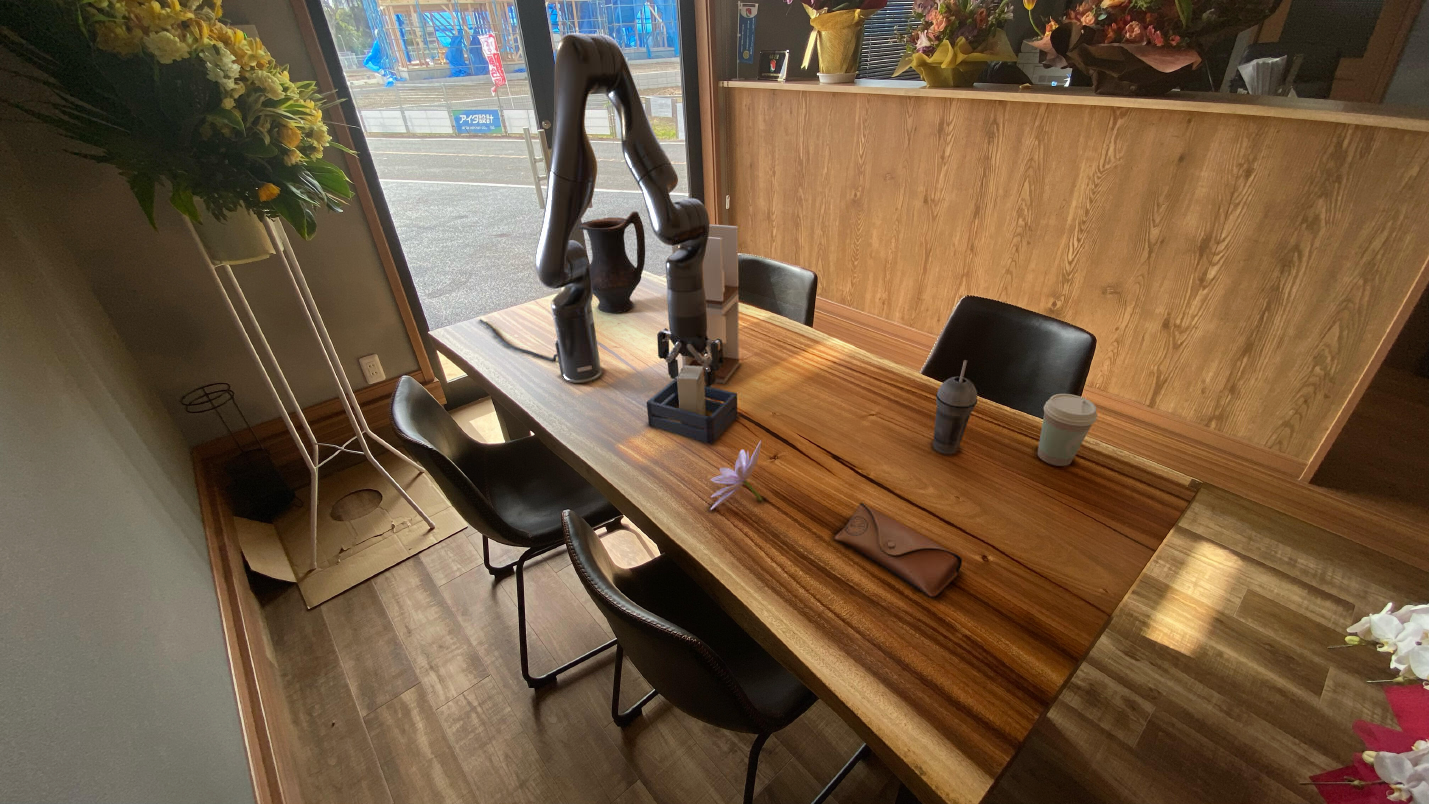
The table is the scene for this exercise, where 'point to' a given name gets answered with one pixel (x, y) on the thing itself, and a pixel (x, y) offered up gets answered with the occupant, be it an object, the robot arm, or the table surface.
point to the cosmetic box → (692, 390)
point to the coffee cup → (1065, 427)
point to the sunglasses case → (900, 550)
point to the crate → (712, 424)
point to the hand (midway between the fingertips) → (691, 381)
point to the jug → (614, 261)
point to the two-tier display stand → (721, 297)
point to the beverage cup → (953, 412)
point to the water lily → (736, 476)
